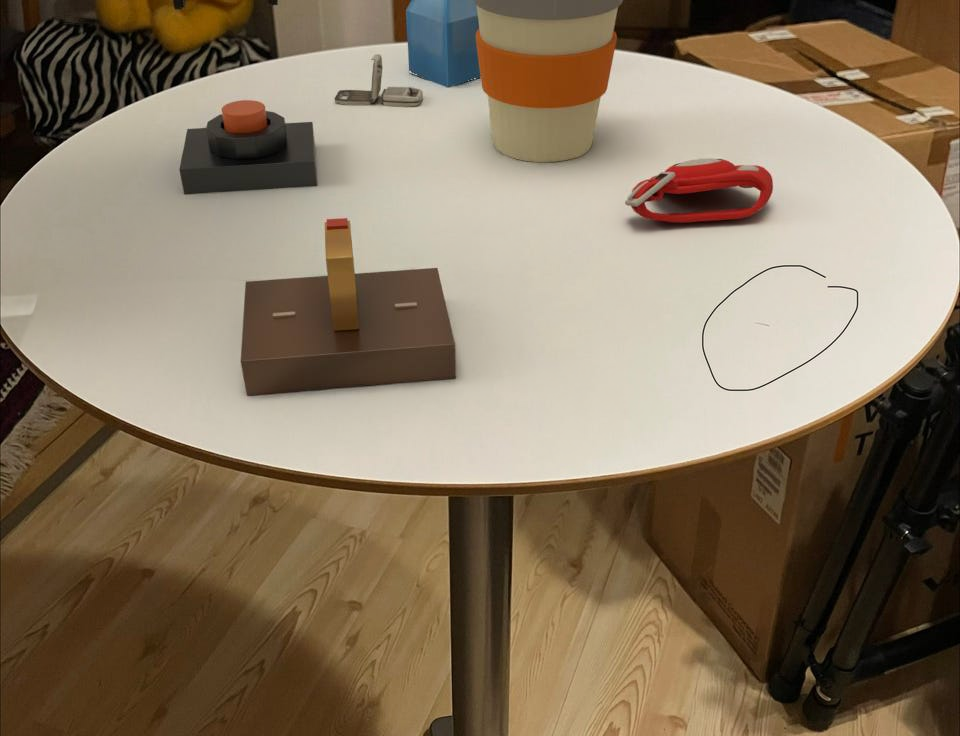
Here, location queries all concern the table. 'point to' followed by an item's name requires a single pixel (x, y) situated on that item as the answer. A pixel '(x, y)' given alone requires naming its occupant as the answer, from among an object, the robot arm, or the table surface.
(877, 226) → the table surface
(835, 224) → the table surface
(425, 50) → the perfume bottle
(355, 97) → the strap clip
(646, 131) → the table surface
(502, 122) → the reusable coffee cup
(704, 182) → the tracker holder
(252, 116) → the bell button
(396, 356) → the plate
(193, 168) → the dark grey button base
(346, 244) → the thumb turn
